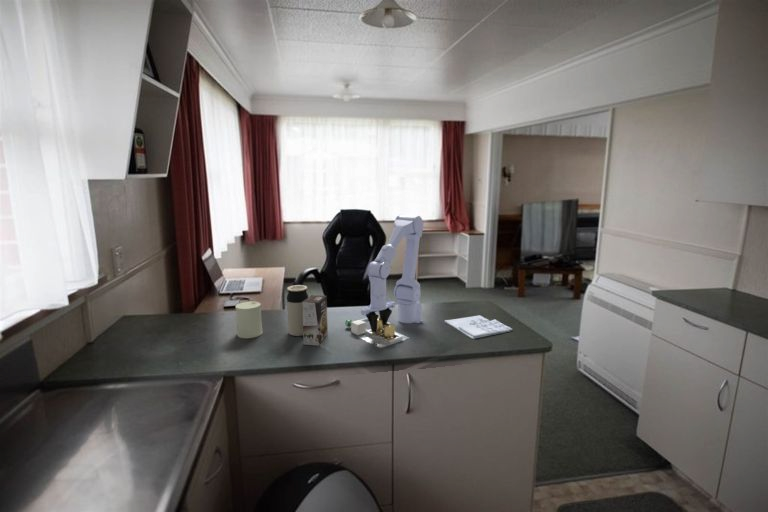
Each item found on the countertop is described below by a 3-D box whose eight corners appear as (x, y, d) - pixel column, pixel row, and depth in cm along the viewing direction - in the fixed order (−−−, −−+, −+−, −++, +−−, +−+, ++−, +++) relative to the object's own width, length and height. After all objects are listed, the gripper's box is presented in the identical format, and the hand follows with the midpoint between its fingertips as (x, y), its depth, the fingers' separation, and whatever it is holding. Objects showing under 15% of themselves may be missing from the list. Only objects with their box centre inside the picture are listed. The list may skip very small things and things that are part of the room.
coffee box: (320, 346, 147) (318, 302, 144) (303, 344, 148) (301, 301, 145) (328, 336, 156) (327, 295, 152) (312, 335, 157) (310, 294, 154)
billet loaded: (389, 336, 152) (389, 322, 151) (396, 340, 149) (397, 325, 148) (381, 339, 149) (381, 325, 148) (388, 343, 146) (388, 328, 145)
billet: (379, 330, 157) (378, 316, 156) (385, 333, 153) (384, 319, 152) (370, 333, 154) (369, 318, 154) (376, 336, 151) (375, 321, 150)
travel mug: (313, 332, 160) (312, 287, 156) (296, 338, 154) (294, 291, 150) (301, 327, 165) (299, 283, 161) (284, 332, 159) (282, 287, 156)
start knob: (351, 325, 163) (350, 318, 162) (361, 330, 157) (361, 323, 157) (345, 326, 161) (345, 320, 160) (355, 332, 156) (355, 325, 155)
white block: (359, 332, 159) (359, 319, 158) (366, 335, 156) (366, 322, 155) (351, 334, 157) (351, 321, 156) (357, 338, 154) (357, 324, 153)
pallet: (386, 330, 161) (386, 324, 160) (409, 341, 151) (409, 334, 151) (357, 340, 152) (357, 333, 152) (380, 351, 142) (380, 344, 142)
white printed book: (472, 340, 153) (472, 335, 153) (443, 323, 171) (443, 318, 171) (513, 332, 161) (513, 327, 160) (481, 316, 179) (481, 311, 178)
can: (267, 331, 161) (265, 301, 158) (250, 340, 152) (248, 309, 150) (249, 327, 164) (247, 298, 162) (232, 336, 156) (229, 305, 154)
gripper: (386, 288, 158) (386, 322, 161) (355, 295, 149) (356, 331, 152) (398, 292, 153) (398, 327, 156) (367, 299, 144) (368, 336, 146)
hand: (378, 329), depth 153 cm, fingers closed on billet, 4 cm apart
